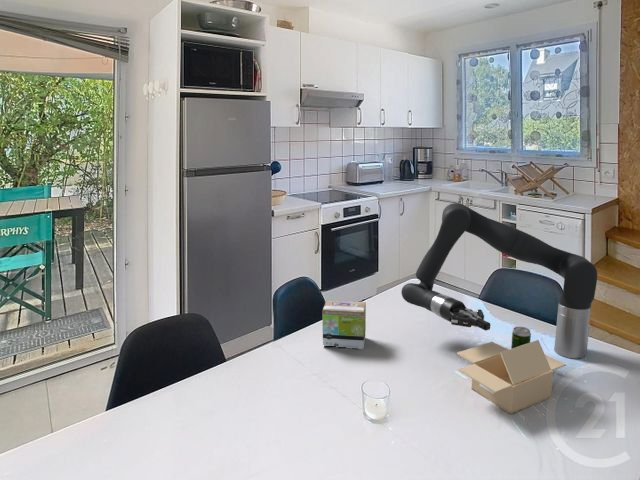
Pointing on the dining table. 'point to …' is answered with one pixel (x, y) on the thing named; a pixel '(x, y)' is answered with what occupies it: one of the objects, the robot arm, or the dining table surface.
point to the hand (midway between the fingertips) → (488, 327)
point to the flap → (525, 361)
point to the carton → (505, 379)
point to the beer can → (520, 336)
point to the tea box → (344, 324)
